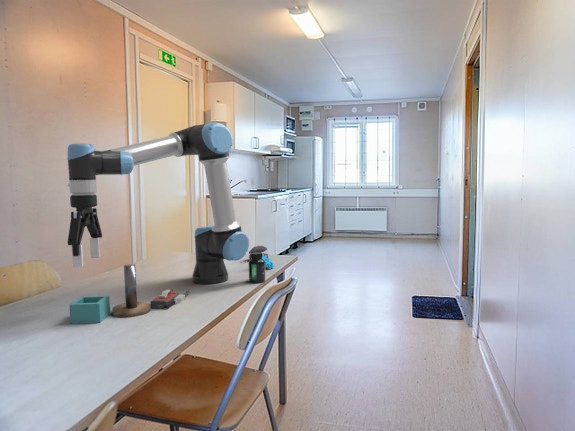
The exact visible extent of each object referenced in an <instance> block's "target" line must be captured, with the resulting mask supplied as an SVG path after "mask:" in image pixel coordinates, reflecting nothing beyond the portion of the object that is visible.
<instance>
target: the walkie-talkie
mask: <svg viewBox="0 0 575 431" xmlns="http://www.w3.org/2000/svg"><path fill="white" fill-rule="evenodd" d="M189 293H191V290H190V289H188V290H187V291H185V293H182V294H180V293H179V292H177V291H176V292H175V291H174V292H173V289H165V290H163V291H162V292H161V293H160V294H159V295H157V296H156V297H155V298H153V299H152V300H150V303H149V304H150V305H151V309H154V310H155V309H156V310H157V309H159V310H168V309H170V307H172V306H174V305H177V304H182V302H184V301H185V300H186V297H187V295H188V294H189Z"/></svg>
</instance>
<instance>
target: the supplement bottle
mask: <svg viewBox="0 0 575 431" xmlns="http://www.w3.org/2000/svg"><path fill="white" fill-rule="evenodd" d="M262 253H263V252H253V253H251V259H250V260H249V261H248V281H249V282H250V284H261V283H264V282H265V283H266V266H265V261H264V259H262V257H263V256H262Z"/></svg>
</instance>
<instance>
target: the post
mask: <svg viewBox="0 0 575 431" xmlns="http://www.w3.org/2000/svg"><path fill="white" fill-rule="evenodd" d="M123 278H124V297H125V303H126V308H127V309H132V308H136V307H137V302H138V291H137V290H138V289H137V271H136V264H132V263H131V264H125V265H123Z"/></svg>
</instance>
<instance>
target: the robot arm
mask: <svg viewBox="0 0 575 431" xmlns="http://www.w3.org/2000/svg"><path fill="white" fill-rule="evenodd" d="M233 144H234V139H233V135H232V132H231V131H230V129H229V128H228V127H227V126H225V124H223V123H221V122H209V123H202V124H195V125H192V126H189V127H186V128H184V129H181V130H176V131H173V132H170V133H169V135H168V136H164V137H160V138H156V139H155V138H154V139H151V140H147V141H142V142H138V143H133V144H128V145H124V146H120V147H116V148H111V149H110V148H109V149H108V150H96V149H95V146H94V144H91V143H70V144H69V145H68V146H67V158H66V160H67V167H68V169H67V170H68V179H69V183H68V185H67V186H68V187H69V193H70V194H71V195H70V196H69V199H70V200H69V202H70V207H71V208H75V211H70V224H69V229H68V231H69V232H68V237H67V245H68V246H71V254H72V255H71V256H72V257H71V259H72V267H73V268H75V267H77V268H78V267H79V268H80V267H81V268H82V267H84V256H83V245H82V244H81V242H82V239H83V235H84V232H85V228H86V229H87V231H88V233H89V235H90V237H91V238H89V250H90V259H100V258H101V250H100V249H101V246H100V239H101V238H103V234H102V233H103V232H102V229H101V224H100V221H99V217H98V210H97V208H96V207H97V206H98V196H97V195H96V194H95V193H97V192H98V191H97V189H98V188H97V178H96V177H97V176H102V175H103V176H105V175H106V176H107V175H108V176H109V175H110V176H111V175H112V176H115V175H119V176H120V175H121V176H123V175H130V174H131V173H132V172H133V170H134V167H135V166H138V165H144V164H147V163H149V162H154V161H159V160H162V159H166V158H169V157H173V156H174V157H177V158H180V157H185V156H198V160H199V162H200V163H201V164H203V166H204V170H205V171H204V173H205V176H206V183H207V188H208V194H209V199H210V200H209V201H210V206H211V211H212V217H213V218H212V219H213V221H214V225H211V226H200V227H196V228H195V231H194V243H195V245H194V247H195V265H194V267H193V268H194V269H193V272H192V275H191V277H192V278H191V279H192V283H195V284H201V285H212V284H220V283H223V282H227V281H228V280H229V272H228V269H227V267H226V263H225V261H224V260H226V261H232V262H233V261H234V262H236V261H239V260H241V259H242V258H244V257H245V256H246V254H247V252H249V248H250V239H249V237H248V235H247V234H246V233H245V232H242V231H243V230H242V227H241V226H242V225H241V223H240V222H238V221H237V218H236V211H235V206H234V200H233V194H232V189H231V188H232V187H231V183H230V182H231V181H230V176H229V170H228V159H229V158H230V153H229V152H230V151H231V149H232V147H233Z"/></svg>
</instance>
